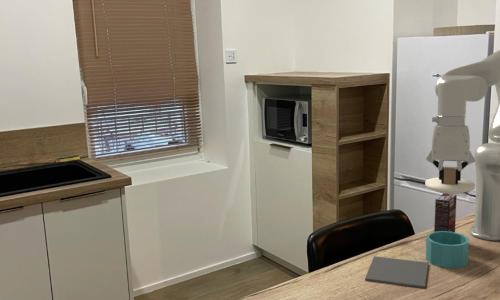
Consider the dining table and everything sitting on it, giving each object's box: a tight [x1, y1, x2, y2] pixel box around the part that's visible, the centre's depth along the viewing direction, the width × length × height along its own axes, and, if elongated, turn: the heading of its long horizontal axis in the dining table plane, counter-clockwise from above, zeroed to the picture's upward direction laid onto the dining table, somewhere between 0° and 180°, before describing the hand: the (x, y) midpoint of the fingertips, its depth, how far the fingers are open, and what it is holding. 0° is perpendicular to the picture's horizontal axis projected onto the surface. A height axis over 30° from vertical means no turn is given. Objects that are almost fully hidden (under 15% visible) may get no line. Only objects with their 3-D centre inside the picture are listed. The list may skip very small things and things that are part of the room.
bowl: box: [425, 231, 470, 269], centre depth 148 cm, size 12×12×7 cm
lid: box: [424, 166, 476, 195], centre depth 144 cm, size 14×14×6 cm
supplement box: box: [433, 193, 458, 233], centre depth 160 cm, size 9×5×16 cm, turn 143°
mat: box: [364, 256, 429, 289], centre depth 142 cm, size 16×16×1 cm
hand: (449, 182), depth 144 cm, fingers closed on lid, 3 cm apart
